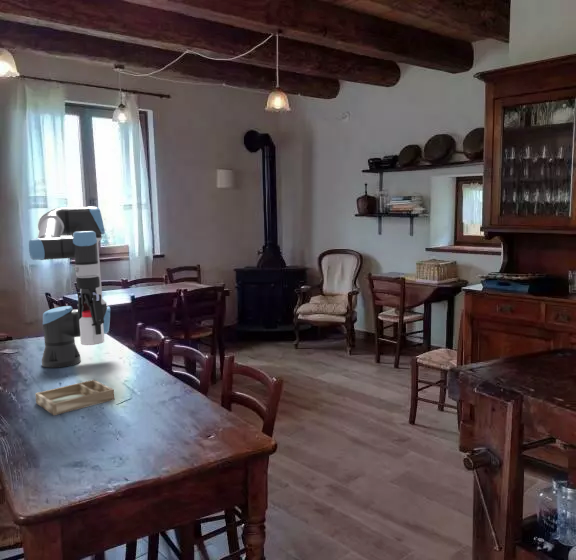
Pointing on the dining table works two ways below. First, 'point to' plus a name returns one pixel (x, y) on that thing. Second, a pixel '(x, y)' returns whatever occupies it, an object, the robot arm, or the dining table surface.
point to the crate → (74, 397)
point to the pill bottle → (88, 329)
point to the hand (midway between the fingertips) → (92, 341)
